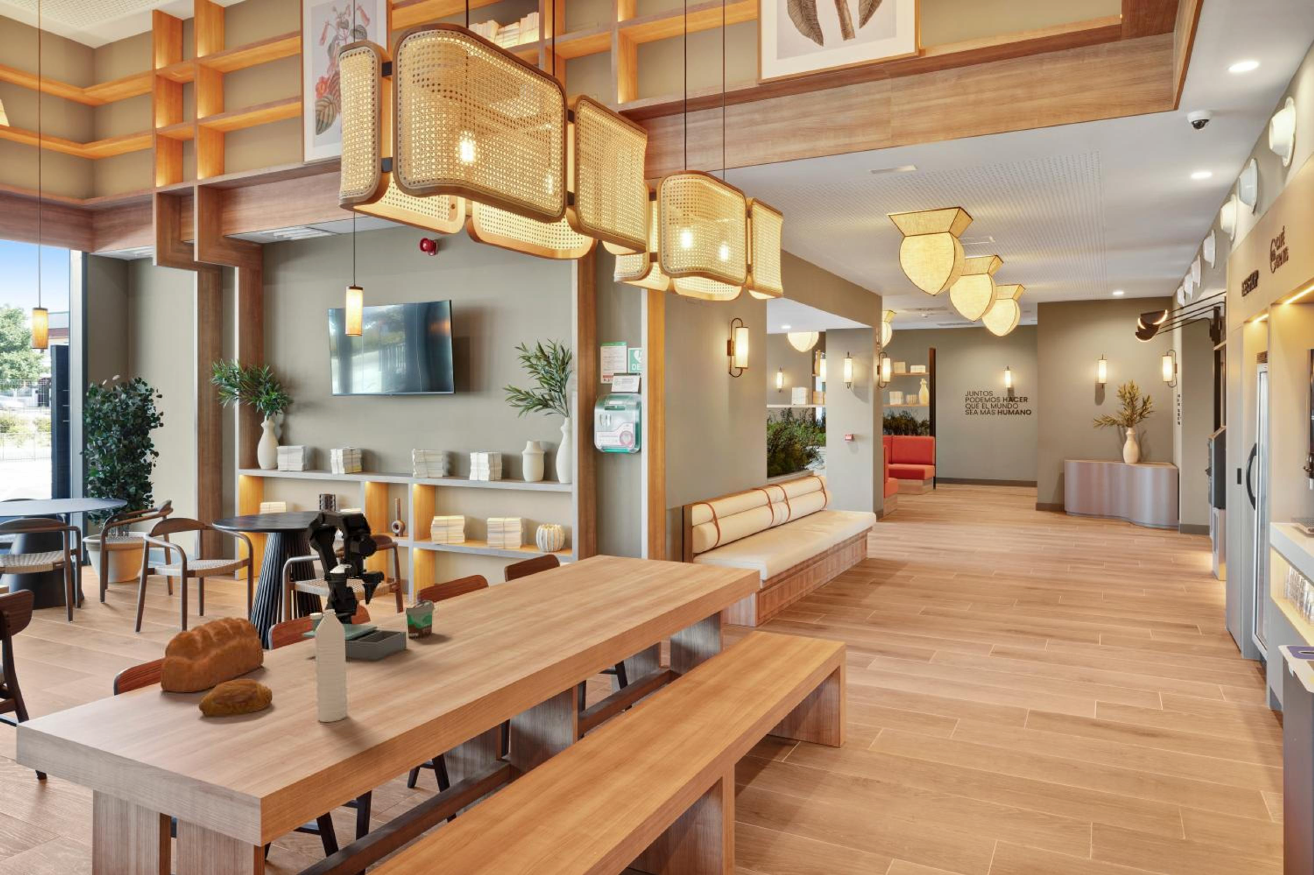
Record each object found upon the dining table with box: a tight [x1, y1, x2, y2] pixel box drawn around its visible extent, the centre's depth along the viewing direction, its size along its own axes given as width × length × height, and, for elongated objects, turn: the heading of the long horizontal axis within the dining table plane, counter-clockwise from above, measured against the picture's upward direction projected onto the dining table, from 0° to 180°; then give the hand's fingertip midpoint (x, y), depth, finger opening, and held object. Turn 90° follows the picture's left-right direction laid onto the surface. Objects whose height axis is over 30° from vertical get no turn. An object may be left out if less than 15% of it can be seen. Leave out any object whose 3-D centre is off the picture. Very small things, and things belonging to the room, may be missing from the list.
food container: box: [405, 599, 436, 640], centre depth 269 cm, size 12×6×10 cm, turn 168°
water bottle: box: [309, 609, 348, 723], centre depth 193 cm, size 9×6×25 cm
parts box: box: [345, 629, 408, 662], centre depth 249 cm, size 16×14×5 cm
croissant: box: [198, 678, 273, 718], centre depth 203 cm, size 14×16×8 cm
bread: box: [160, 616, 265, 693], centre depth 228 cm, size 14×26×16 cm, turn 166°
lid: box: [301, 614, 378, 640], centre depth 253 cm, size 16×14×5 cm
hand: (355, 603), depth 262 cm, fingers open, 9 cm apart
